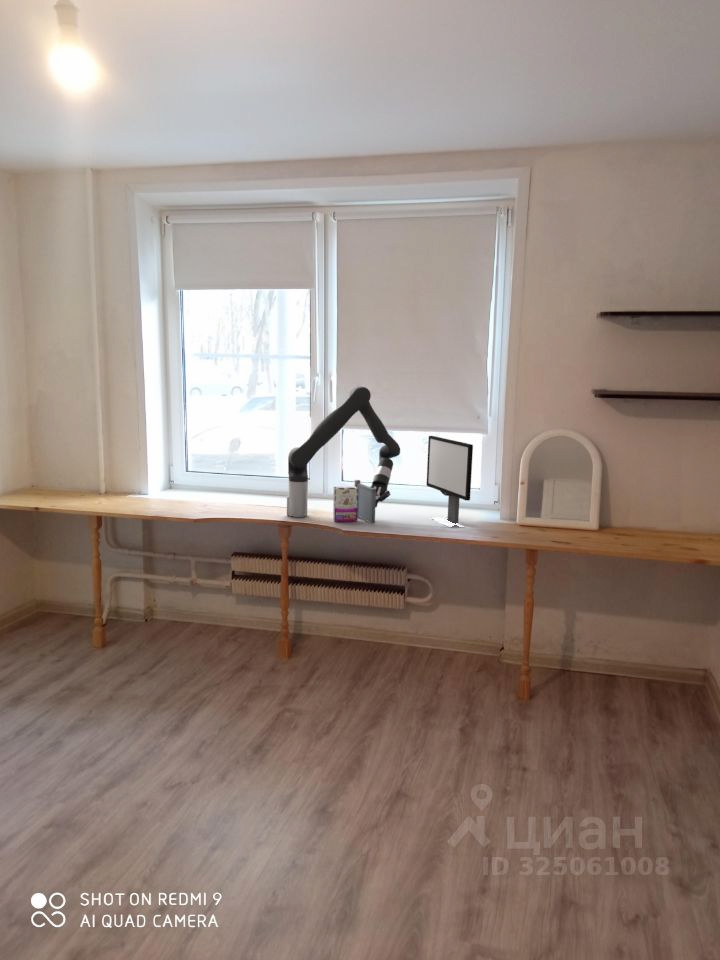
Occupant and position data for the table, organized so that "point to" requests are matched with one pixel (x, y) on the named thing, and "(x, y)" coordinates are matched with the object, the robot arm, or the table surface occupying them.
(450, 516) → the computer monitor
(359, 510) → the gate
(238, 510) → the table surface
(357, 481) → the hinge post
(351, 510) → the candy bar box
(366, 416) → the robot arm
